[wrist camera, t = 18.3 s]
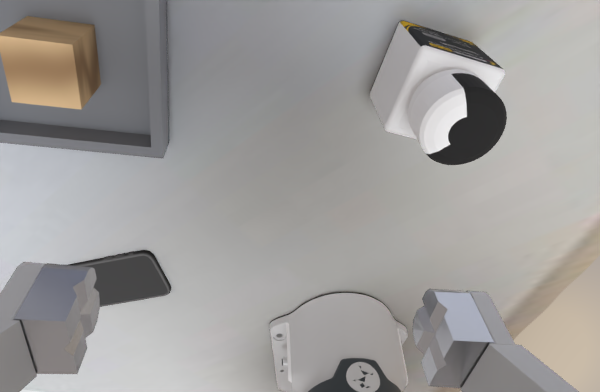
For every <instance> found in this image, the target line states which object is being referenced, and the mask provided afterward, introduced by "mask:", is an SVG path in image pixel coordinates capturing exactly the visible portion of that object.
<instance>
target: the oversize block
mask: <svg viewBox="0 0 600 392" xmlns="http://www.w3.org/2000/svg"><path fill="white" fill-rule="evenodd" d="M0 53H1V58H2V62H3V66H4V71H5V75H6V79H7V84H8V88H9V92H10V96H11V101H12V102H16V103H25V104H34V105H43V106H53V107H62V108H71V109H81V110H82V108H83V107H84V106H85V104H86V103H87V102H88V101H89V99H90V98H91V97H92V95H93V94H94V93H95V92H96V90H97V89H98V88H99V86H100V85H101V80H100V71H99V62H98V53H97V43H96V34H95V25H91V24H84V23H76V22H69V21H61V20H54V19H46V18H38V17H31V16H27V17H25V18H23V19H22V20H20V21H18V22H17V23H15V24H14V25H12V26H10V27H9V28H7V29H5V30H4V31H2V32H1V33H0Z"/></svg>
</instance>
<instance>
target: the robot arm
mask: <svg viewBox="0 0 600 392" xmlns="http://www.w3.org/2000/svg"><path fill="white" fill-rule="evenodd" d="M96 279H97V278H96V273H95V269H94V268H92V267H81V266H70V265H58V264H43V263H31V262H23V263H22V264H20V265H19V266H18V267H17V268H16V270H15V271H14V273H13V274H12V276H11V278H10V279H9V281H8V282H7V284H6V285H5V287H4V289H3V290H2V292H1V293H0V392H20V391H21V390H22V389H23V388H24V387H25V386H26V385H27V384H28V383H30V382H31V381H32V380H33V379H34V378H35V377H36V376H37V375H36V374H77V373H78V371H79V368H80V365H81V363H82V360H83V358H84V355H85V352H86V350H87V345H86V340H85V338H86V337H87V336H88V335H90V334H91V333H92V332H93V331H94V328H95V325H96V323H97V319H98V314H99V307H100V298H99V292H98V291H97V290H96V289H95V288H93V287H94V284H95V282H96ZM423 302H424V305H425V306H423V307H422V308H420V309H419V310H417V312H416V315H415V317H414V320H413V336H414V341H415V344H416V347H417V348H418V349H419V350H420V351H421V352H422V353H423V354H424V357H423V359H422V361H421V364H422V367H423V370H424V373H425V376H426V379H427V382H428V386H436V387H452V388H461V391H462V392H579V391H577V390H576V389H575V388H574V387H572V386H571V385H570V384H569V383H567V382H566V381H565V380H564V379H563V378H561V377H560V376H559V375H558V374H556V373H555V372H554V371H553V370H551V369H550V368H549V367H548V366H546V365H545V364H544V363H543V362H541V361H540V360H539V359H538V358H536V357H535V356H534V355H533V354H532V353H530V352H529V351H528V350H526V349H525V348H524V347H523V346H522V345H516V344H515V343H514V341H513V339H512V337H511V335H510V333H509V331H508V330H507V328H506V326H505V324H504V322H503V320H502V318H501V316H500V314H499V312H498V311H497V309H496V307H495V305H494V303H493V301H492V299H491V297H490V296H489V295H488V294H487V293H486V292H477V291H461V290H442V289H429V290H427V291H426V292H425V294H424V296H423ZM269 327H270V335H271V342H272V350H273V358H274V365H275V373H276V381H277V387H278V389H280V390H282V391H284V392H403V391H404V389H405V387H406V386H407V385H408V375H407V370H406V364H405V359H404V354H403V349H402V344H403V343H404V342H405V340H406V339H407V338H408V332H407V328H406V327H405V326H404V325H402V324H401V323H399V322H397V321H395V319H394V318H393V317H392V315H391V313H390V311H389V310H388V308H387V307H386V306H385V305H384V304H383V303H381V302H380V301H378V300H376V299H374V298H372V297H369V296H366V295H362V294H356V293H336V294H330V295H325V296H321V297H318V298H316V299H313V300H311V301H309V302H307V303H305V304H304V305H302V306H301V307H299V308H298V309H297V310H295V311H294V312H293V313H291V314H289V315H287V316H284V317H281V318H278V319H276V320H274V321H272V322H271V323H270V326H269Z"/></svg>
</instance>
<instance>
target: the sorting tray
mask: <svg viewBox="0 0 600 392" xmlns="http://www.w3.org/2000/svg"><path fill="white" fill-rule="evenodd" d="M27 16H31V17H38V18H46V19H54V20H61V21H69V22H76V23H84V24H91V25H95V34H96V43H97V53H98V62H99V71H100V80H101V85H100V86H99V88H98V89H97V90H96V92H95V93H94V94H93V95H92V97H91V98H90V99H89V101H88V102H87V103H86V104H85V106H84V107H83V108H82V110H81V109H71V108H62V107H53V106H43V105H34V104H25V103H16V102H12V101H11V96H10V92H9V88H8V84H7V79H6V75H5V71H4V66H3V62H2V58H1V53H0V143H10V144H20V145H30V146H41V147H51V148H61V149H72V150H82V151H92V152H103V153H113V154H123V155H134V156H144V157H154V158H163V157H164V155H165V152H166V149H167V146H168V143H169V115H168V62H167V9H166V0H0V33H1V32H2V31H4V30H5V29H7V28H9V27H10V26H12V25H14V24H15V23H17V22H18V21H20V20H22V19H23V18H25V17H27Z"/></svg>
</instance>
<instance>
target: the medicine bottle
mask: <svg viewBox="0 0 600 392" xmlns="http://www.w3.org/2000/svg"><path fill="white" fill-rule="evenodd" d="M504 76H505V70H504V69H503V68H501V67H500V66H499V65H498V64H497V63H496V62H494V61H493V60H492V59H491V58H490V57H489V56H487V55H486V54H485V53H484V52H483V51H482V50H480V49H479V48H478V47H477V46H476V45H475V44H473V43H472V42H469V41H466V40H463V39H460V38H457V37H453V36H450V35H447V34H444V33H441V32H437V31H434V30H431V29H428V28H425V27H422V26H418V25H415V24H412V23H409V22H406V21H401V22H399V24H398V26H397V29H396V31H395V33H394V36H393V38H392V41H391V43H390V46H389V48H388V51H387V53H386V55H385V58H384V60H383V63H382V65H381V68H380V70H379V72H378V75H377V77H376V80H375V82H374V85H373V87H372V90H371V92H370V98H371V100H372V103H373V105H374V107H375V109H376V112H377V114H378V116H379V118H380V121H381V123H382V125H383V127H384V130H385V131H387V132H389V133H393V134H397V135H401V136H405V137H409V138H413V139H417V140H418V141H419V143H420V145H421V147H422V149H423V150H424V152H425V153H426V154H427V155H428V156H429V157H430V158H431V159H433V160H434V161H436V162H439V163H442V164H447V165H459V164H464V163H468V162H471V161H474V160H476V159H478V158H480V157H482V156H483V155H484V154H486V153H487V152H488V151H489V150H491V149H492V148H493V146H494V145H495V144H496V143H497V142H498V140H499V139H500V137H501V135H502V133H503V131H504V129H505V125H506V119H507V116H506V109H505V106H504V103H503V102H502V100H501V99H500V98H499V97H498V95H497V94H496V93H495V92H496V90H497V88H498V86H499V85H500V83H501V81H502V79H503V78H504Z"/></svg>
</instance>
